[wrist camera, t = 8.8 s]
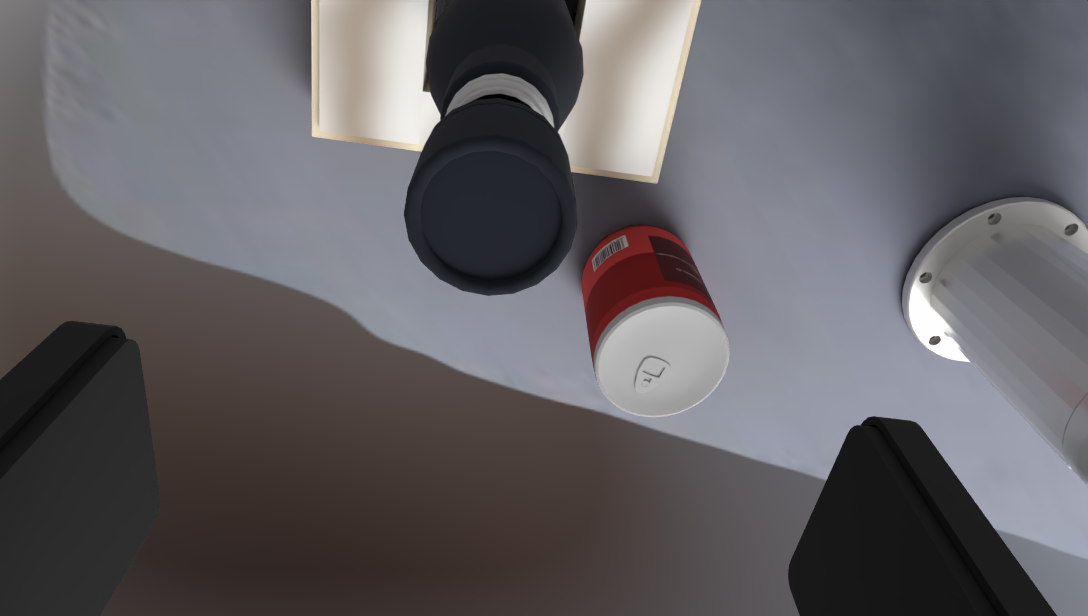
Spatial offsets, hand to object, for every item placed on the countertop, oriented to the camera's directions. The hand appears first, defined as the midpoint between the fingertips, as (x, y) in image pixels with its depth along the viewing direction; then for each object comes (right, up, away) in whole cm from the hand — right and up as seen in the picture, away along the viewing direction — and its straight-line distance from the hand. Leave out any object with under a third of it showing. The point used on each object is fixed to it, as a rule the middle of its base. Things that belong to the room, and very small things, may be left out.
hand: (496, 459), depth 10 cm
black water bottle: (-1, +19, +33) cm, 38 cm away
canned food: (+7, +5, +41) cm, 42 cm away
